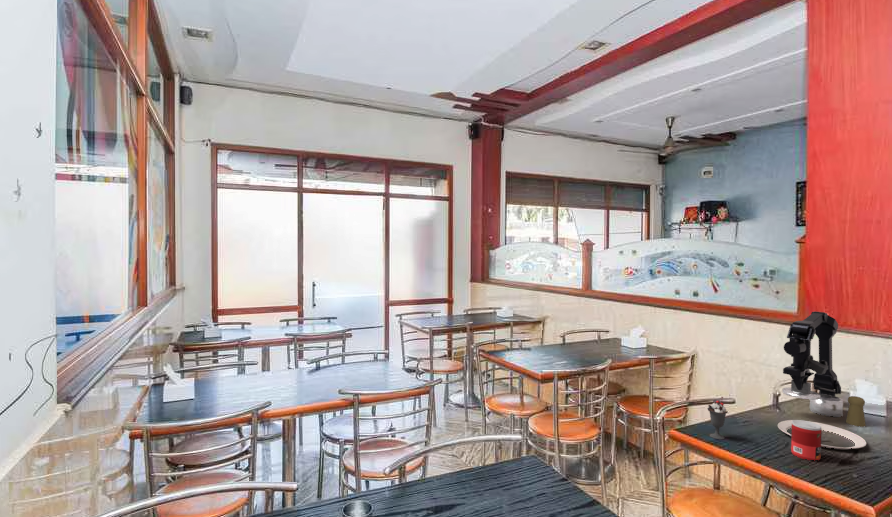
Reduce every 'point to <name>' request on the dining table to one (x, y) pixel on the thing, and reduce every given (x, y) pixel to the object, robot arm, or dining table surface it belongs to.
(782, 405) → the dining table surface
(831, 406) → the cooker pot
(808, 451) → the canned food
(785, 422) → the plate
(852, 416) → the cork
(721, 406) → the sundae
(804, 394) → the cooker lid
